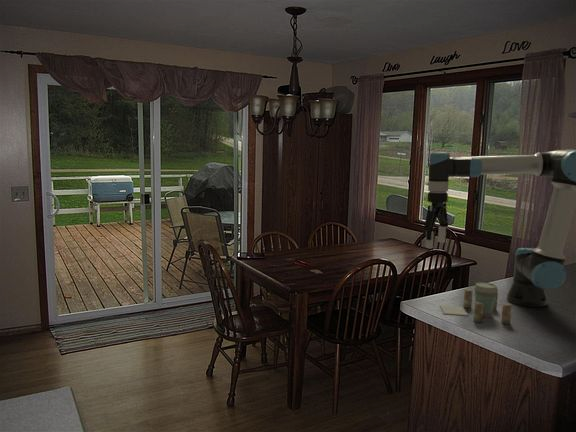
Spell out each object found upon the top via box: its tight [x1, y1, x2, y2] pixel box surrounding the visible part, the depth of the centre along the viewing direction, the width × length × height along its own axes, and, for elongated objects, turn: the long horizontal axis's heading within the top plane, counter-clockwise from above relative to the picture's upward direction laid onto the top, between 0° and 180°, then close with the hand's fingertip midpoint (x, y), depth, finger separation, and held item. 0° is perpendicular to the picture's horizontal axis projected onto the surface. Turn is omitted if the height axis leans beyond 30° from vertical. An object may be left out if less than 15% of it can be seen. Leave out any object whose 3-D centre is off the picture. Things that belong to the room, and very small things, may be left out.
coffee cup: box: [473, 281, 499, 318], centre depth 186 cm, size 8×9×12 cm
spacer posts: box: [462, 288, 512, 325], centre depth 186 cm, size 14×20×7 cm
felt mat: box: [439, 305, 469, 317], centre depth 190 cm, size 9×9×1 cm
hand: (435, 245), depth 191 cm, fingers open, 13 cm apart
